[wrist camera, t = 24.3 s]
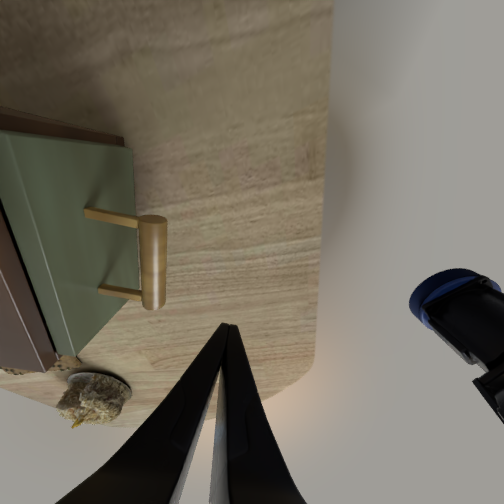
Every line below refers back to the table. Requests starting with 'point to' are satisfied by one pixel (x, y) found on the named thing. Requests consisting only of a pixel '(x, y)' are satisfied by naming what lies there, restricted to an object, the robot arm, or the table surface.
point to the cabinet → (10, 269)
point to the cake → (93, 398)
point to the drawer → (79, 232)
